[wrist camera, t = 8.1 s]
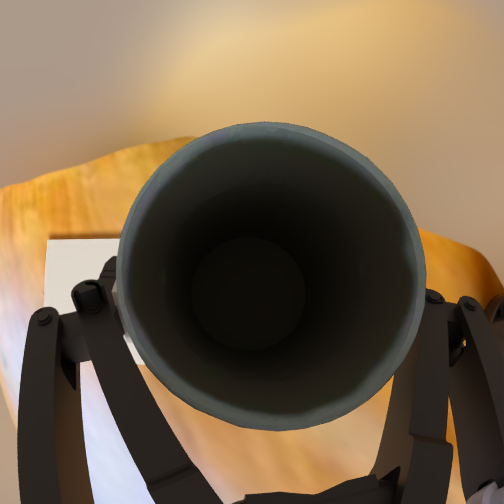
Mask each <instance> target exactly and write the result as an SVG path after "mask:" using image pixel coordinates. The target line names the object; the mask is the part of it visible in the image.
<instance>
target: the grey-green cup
mask: <svg viewBox="0 0 504 504" xmlns="http://www.w3.org/2000/svg"><path fill="white" fill-rule="evenodd" d="M116 286H117V294H118V303H119V307H120V310H121V313H122V317H123V320H124V323H125V326H126V329H127V332H128V334H129V336H130V338H131V340H132V342H133V344H134V346H135V348H136V350H137V352H138V354H139V355H140V357H141V359H142V360H143V362H144V363H145V365H146V366H147V368H148V369H149V370H150V371H151V372H152V373H153V374H154V376H155V377H156V378H157V379H158V380H159V381H160V382H161V383H162V384H163V385H164V386H165V387H166V388H167V389H168V390H169V391H170V392H171V393H172V394H174V395H175V396H177V397H178V398H179V399H181V400H182V401H184V402H185V403H187V404H188V405H190V406H191V407H193V408H194V409H196V410H199V411H201V412H203V413H206V414H208V415H210V416H213V417H215V418H218V419H220V420H223V421H225V422H228V423H230V424H233V425H236V426H238V427H242V428H249V429H258V430H268V431H288V430H297V429H305V428H309V427H313V426H316V425H320V424H324V423H327V422H330V421H333V420H335V419H337V418H339V417H342V416H344V415H346V414H348V413H349V412H351V411H353V410H354V409H356V408H357V407H359V406H360V405H362V404H363V403H365V402H366V401H368V400H369V399H370V398H371V397H373V396H374V395H375V394H376V393H377V392H378V391H379V390H380V389H381V388H382V387H383V386H384V385H385V384H386V383H387V382H388V381H389V380H390V378H391V377H392V376H393V375H394V373H395V372H396V371H397V370H398V368H399V367H400V365H401V364H402V362H403V360H404V359H405V357H406V356H407V354H408V352H409V350H410V348H411V346H412V344H413V341H414V339H415V337H416V334H417V331H418V328H419V325H420V321H421V318H422V314H423V310H424V306H425V293H426V265H425V256H424V251H423V247H422V243H421V239H420V235H419V231H418V228H417V226H416V224H415V222H414V219H413V217H412V215H411V212H410V210H409V208H408V206H407V204H406V203H405V201H404V200H403V198H402V197H401V195H400V194H399V192H398V191H397V189H396V188H395V186H394V185H393V183H392V182H391V181H390V180H389V179H388V178H387V177H386V176H385V174H383V172H382V171H380V169H378V167H376V165H374V164H373V162H372V161H370V159H368V158H367V157H365V156H364V155H363V154H361V153H359V152H358V151H356V150H355V149H353V148H352V147H350V146H348V145H347V144H345V143H343V142H341V141H339V140H337V139H334V138H333V137H330V136H328V135H326V134H324V133H321V132H319V131H316V130H313V129H310V128H308V127H304V126H299V125H293V124H289V123H278V122H257V123H246V124H237V125H233V126H230V127H227V128H223V129H219V130H216V131H213V132H211V133H208V134H206V135H204V136H202V137H199V138H197V139H195V140H194V141H192V142H191V143H189V144H187V145H186V146H184V147H183V148H181V149H180V150H178V151H177V152H176V153H174V154H173V155H172V156H171V157H170V158H169V159H167V160H166V161H165V162H164V163H163V164H162V165H161V166H160V167H158V168H157V170H156V171H155V172H154V173H153V175H152V176H151V177H150V178H149V180H148V181H147V182H146V183H145V185H144V186H143V187H142V189H141V190H140V192H139V194H138V196H137V197H136V199H135V201H134V203H133V205H132V206H131V208H130V211H129V214H128V216H127V219H126V221H125V224H124V227H123V229H122V232H121V236H120V241H119V247H118V253H117V259H116Z"/></svg>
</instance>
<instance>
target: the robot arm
mask: <svg viewBox="0 0 504 504" xmlns="http://www.w3.org/2000/svg"><path fill="white" fill-rule="evenodd" d="M116 259H117V256H112V257H111V258H110V259H109V260H108V261H107V262H106V263H105V264H104V267H103V269H102V272H101V273H100V276H99V278H98V280H94V279H89V280H84V281H82V282H80V283H78V284H77V285H76V286H74V288H73V289H72V291H71V298H72V301H73V303H74V306H75V309H76V311H74V312H71V313H66V314H61V315H59V312H58V311H57V310H56V308H53V307H43V308H40V309H39V310H37V311H35V312H34V314H33V315H32V316H31V318H30V321H29V326H28V332H27V337H26V343H25V350H24V357H23V364H22V372H21V382H20V393H19V407H18V433H17V435H18V437H17V441H18V442H17V445H18V446H17V449H18V474H19V475H18V477H19V490H20V500H21V504H94V499H93V494H92V488H91V483H90V477H89V471H88V464H87V457H86V449H85V441H84V431H83V420H82V407H81V388H80V362H85V361H90V360H92V363H93V366H94V369H95V371H96V374H97V377H98V380H99V382H100V385H101V388H102V390H103V393H104V395H105V398H106V401H107V403H108V405H109V408H110V410H111V413H112V415H113V417H114V420H115V422H116V424H117V426H118V429H119V431H120V433H121V435H122V437H123V439H124V442H125V444H126V446H127V448H128V450H129V452H130V454H131V456H132V458H133V460H134V462H135V464H136V466H137V468H138V469H139V471H140V473H141V475H142V477H143V479H144V481H145V483H146V486H147V489H148V491H149V493H150V495H151V497H152V499H153V500H154V502H155V504H224V503H223V502H222V501H221V499H220V498H219V497H218V495H217V494H216V493H215V491H214V490H213V489H212V487H211V486H210V484H209V483H208V482H207V480H206V479H205V477H204V476H203V475H202V473H201V472H200V470H199V469H198V468H197V467H196V466H195V465H194V464H193V462H192V461H191V460H190V458H189V457H188V455H187V453H186V452H185V450H184V449H183V447H182V446H181V444H180V442H179V441H178V439H177V437H176V436H175V434H174V432H173V431H172V429H171V427H170V426H169V424H168V422H167V421H166V419H165V417H164V415H163V414H162V412H161V410H160V408H159V407H158V405H157V403H156V401H155V399H154V397H153V396H152V394H151V392H150V390H149V388H148V386H147V384H146V382H145V380H144V378H143V376H142V374H141V372H140V370H139V368H138V366H137V364H136V362H135V360H134V358H133V356H132V354H131V352H130V350H129V348H128V345H127V343H133V342H132V340H131V338H130V336H129V334H128V332H127V329H126V326H125V323H124V320H123V317H122V313H121V310H120V307H119V303H118V294H117V286H116ZM124 335H125V338H126V341H127V343H126V341H125V339H124ZM464 340H466V346H465V347H464V344H463V341H464ZM448 397H449V399H450V404H451V409H452V415H453V421H454V427H455V433H456V440H457V447H458V455H459V464H460V475H461V482H462V488H463V493H464V497H465V500H466V504H504V293H503V294H499V295H498V296H496V297H495V298H494V299H493V300H492V301H491V302H490V303H489V305H488V306H487V308H486V310H485V312H484V311H483V309H482V307H481V305H480V304H479V303H478V302H477V301H476V300H475V299H474V298H472V297H469V296H462V297H460V299H459V301H458V303H457V304H455V303H450V302H445V299H444V298H443V296H442V295H441V294H439V293H438V292H436V291H434V290H431V289H427V288H426V293H425V306H424V310H423V314H422V318H421V321H420V325H419V328H418V331H417V334H416V337H415V339H414V341H413V344H412V346H411V348H410V350H409V352H408V354H407V356H406V357H405V359H404V360H403V362H402V364H401V365H400V367H399V368H398V370H397V371H396V372H395V373H394V379H393V385H392V391H391V396H390V402H389V407H388V412H387V416H386V421H385V426H384V430H383V434H382V439H381V443H380V447H379V451H378V455H377V458H376V462H375V464H374V467H373V468H372V470H371V472H370V473H369V475H368V476H364V477H360V478H356V479H352V480H347V481H345V482H343V483H341V484H339V485H336V486H334V487H332V488H330V489H328V490H325V491H323V492H321V493H319V494H314V495H311V494H298V493H287V492H272V493H261V494H246V495H245V498H244V500H241V501H237V502H235V503H232V504H446V500H447V494H448V488H449V482H450V475H451V468H452V460H453V446H452V444H451V443H448V442H447V441H446V430H447V417H448Z"/></svg>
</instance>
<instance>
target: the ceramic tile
mask: <svg viewBox="0 0 504 504" xmlns="http://www.w3.org/2000/svg"><path fill="white" fill-rule="evenodd" d="M119 241H120V239H64V240H48V242H47V253H46V265H45V282H44V307H53V308H56V310H57V311H58V312H59V315H61V314H66V313H71V312H74V311H76V309H75V306H74V303H73V301H72V298H71V291H72V289H73V288H74V286H76V285H77V284H78V283H80V282H82V281H84V280H89V279H94V280H98V278H99V276H100V273H101V272H102V269H103V267H104V264H105V263H106V262H107V261H108V260H109V259H110V258H111V257H112V256H117V253H118V247H119ZM124 339H125V341H126V338H125V335H124ZM126 343H127V341H126ZM127 345H128V348H129V350H130V352H131V354H132V356H133V358H134V360H135V362H136V364H145V363H144V362H143V360H142V359H141V357H140V355H139V354H138V352H137V350H136V348H135V346H134V344H133V343H127ZM91 361H92V360H91Z"/></svg>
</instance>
